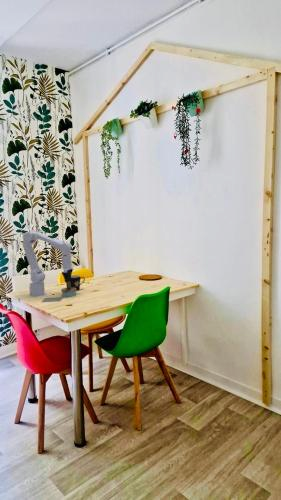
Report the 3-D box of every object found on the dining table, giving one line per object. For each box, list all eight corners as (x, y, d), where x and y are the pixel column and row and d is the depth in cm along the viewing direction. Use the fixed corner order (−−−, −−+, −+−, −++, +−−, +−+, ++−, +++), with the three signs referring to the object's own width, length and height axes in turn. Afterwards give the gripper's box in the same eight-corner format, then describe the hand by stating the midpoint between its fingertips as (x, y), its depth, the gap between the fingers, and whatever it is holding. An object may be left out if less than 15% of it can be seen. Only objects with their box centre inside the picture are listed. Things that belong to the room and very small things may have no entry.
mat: (41, 302, 210) (41, 302, 210) (45, 298, 220) (45, 297, 220) (60, 301, 211) (60, 301, 211) (63, 297, 220) (63, 297, 220)
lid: (60, 292, 220) (59, 284, 219) (62, 289, 229) (61, 281, 229) (75, 291, 221) (75, 283, 220) (76, 288, 231) (76, 280, 230)
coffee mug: (68, 292, 235) (67, 278, 234) (69, 289, 244) (68, 275, 242) (85, 290, 237) (84, 276, 236) (85, 287, 246) (84, 274, 245)
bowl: (61, 297, 221) (60, 292, 220) (63, 294, 230) (63, 289, 229) (74, 296, 221) (74, 291, 221) (77, 293, 230) (76, 288, 230)
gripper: (70, 262, 215) (72, 283, 217) (74, 259, 230) (75, 278, 231) (59, 263, 215) (61, 283, 217) (64, 259, 230) (65, 279, 231)
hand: (68, 281), depth 224 cm, fingers open, 7 cm apart
